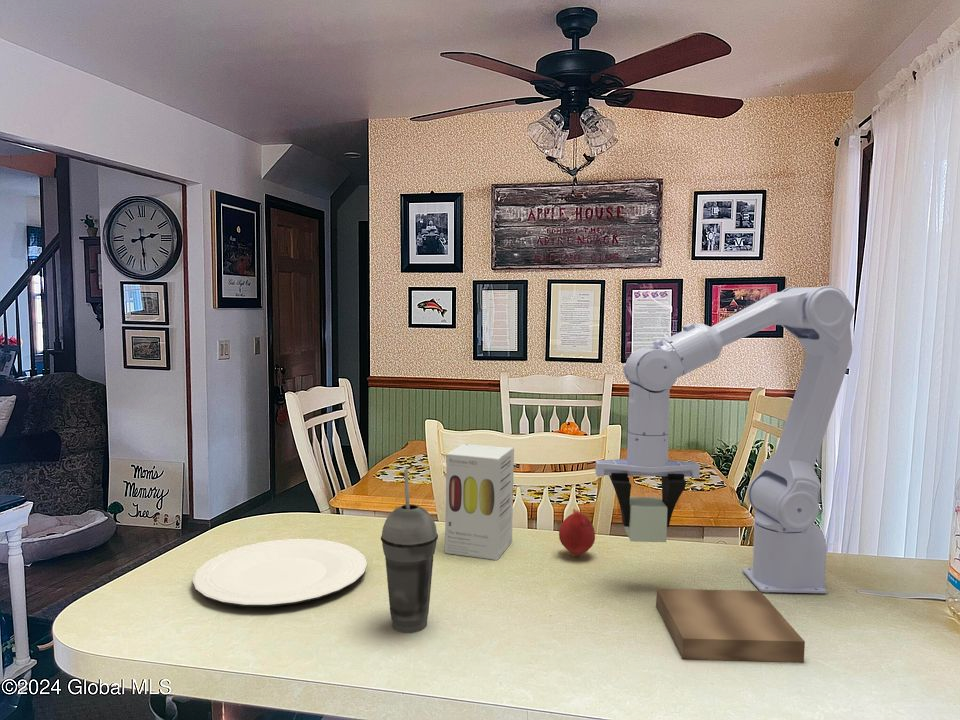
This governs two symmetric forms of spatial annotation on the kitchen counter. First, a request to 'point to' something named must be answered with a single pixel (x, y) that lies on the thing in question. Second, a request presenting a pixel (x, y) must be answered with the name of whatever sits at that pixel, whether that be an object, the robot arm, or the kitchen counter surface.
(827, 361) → the robot arm
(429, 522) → the beverage cup
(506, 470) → the supplement box
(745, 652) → the walnut base
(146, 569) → the kitchen counter surface
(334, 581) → the plate
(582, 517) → the onion
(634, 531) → the sage block
